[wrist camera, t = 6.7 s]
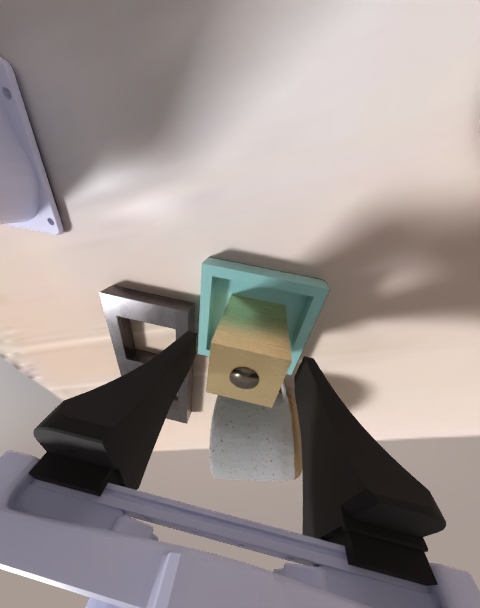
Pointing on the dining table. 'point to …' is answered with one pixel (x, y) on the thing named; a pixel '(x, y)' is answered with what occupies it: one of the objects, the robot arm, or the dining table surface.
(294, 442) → the ceramic mug
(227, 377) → the block
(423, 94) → the dining table surface
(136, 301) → the grey flat frame
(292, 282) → the tray
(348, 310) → the dining table surface
